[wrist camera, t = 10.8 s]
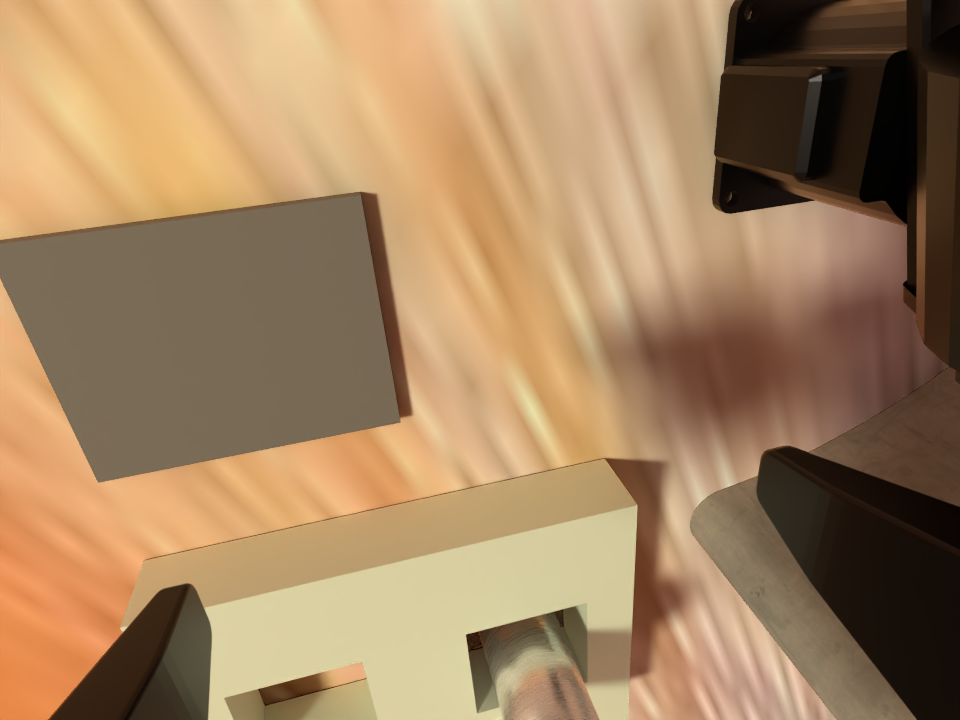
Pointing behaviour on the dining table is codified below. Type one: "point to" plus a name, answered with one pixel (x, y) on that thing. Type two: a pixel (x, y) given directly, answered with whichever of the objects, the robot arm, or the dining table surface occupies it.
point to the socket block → (416, 598)
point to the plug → (535, 671)
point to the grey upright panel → (779, 579)
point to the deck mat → (207, 331)
